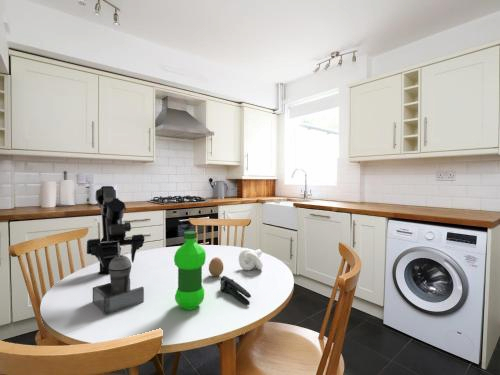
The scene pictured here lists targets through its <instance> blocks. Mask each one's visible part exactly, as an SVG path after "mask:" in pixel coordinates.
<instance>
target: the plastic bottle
mask: <svg viewBox="0 0 500 375" xmlns="http://www.w3.org/2000/svg"><path fill="white" fill-rule="evenodd" d="M197 238H198V231H195V230H188V231H184V232H183V239H185V242H184V243H182V245H181V246H180V247H178V248H177V249H176V251H175V254H174V256H173V262H174V265H175V266H176V267H177V289H176V293H175V295H174V300H175V303H176V304H177V305H178V306H179V307H181V308H182V309H183V310H187V311H191V310H195V309H197V308H198V307H199V305H201V304H202V303H203V301H204V299H205V288H204V286H203V284H202V283H203V282H202V281H203V280H202V279H203V278H202V277H203V276H202V275H203V272H202V271H203V269H202V268H203V267H204V265H205V263H206V254H207V253H206V251H205V250H206V249H205V248H203V247H202V246H201V245H200V244H199V243H197V242H196V239H197Z"/></svg>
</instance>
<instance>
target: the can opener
mask: <svg viewBox="0 0 500 375" xmlns="http://www.w3.org/2000/svg"><path fill="white" fill-rule="evenodd" d="M219 282H220V291H221V292H224V293H231V294H232V295H233V296H234V297H235V298H236V299H237V300H238V301H240V302H241V303H243V304H244V305H249V304H250V303H251V302H250V300H249V299H250V298H252V295H251V294H250V292H249V291H248V290H247V289H245V288H244V287H243V286H241V285H240V284H239V283H238V282H236V281H235V280H234V279H233V278H230V277H228V276H227V275H223V276H221V277H220V279H219Z"/></svg>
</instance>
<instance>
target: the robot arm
mask: <svg viewBox="0 0 500 375" xmlns="http://www.w3.org/2000/svg"><path fill="white" fill-rule="evenodd" d="M95 201H96V205H97V206H98V208H99V209H100V210H101V225H102V226H101V227H102V238H91V239H88V240H87V241H86V255H91V256H95V258H96V259H97V261H99V272H97V274H98V275H107V274H109V270H108V268H109V264H110V262H111V260H112V259H113V258H114V257H116V256H118V243H119V248H120V253H121V251H122V248H121V246H127V245H130V246H131V248H130V254H131V255H130V258H131V259H130V261H131V264H132V263H134V261H135V256H136V253H137V250H140V248H142V247H143V246H144V243H145V240H146V239H145V235H144V234H142V233H139V234H132V235H131V236H132V237H131V238H127V239H125V238H126V237H127V234H126V233H127V232H131V230H132V226H131V222H130V221H126V222H124V223H123V217H124V215H125V214H124V213H125V211H126V210H127V209H126V208H127V207H126V204H125V202H123V201H122V200H120V199H119V198H118V197H117V191H116V189H115V187H114V186H113V185H102V186H101V187H100V188H99V189H96V190H95ZM109 275H110V274H109Z"/></svg>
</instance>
